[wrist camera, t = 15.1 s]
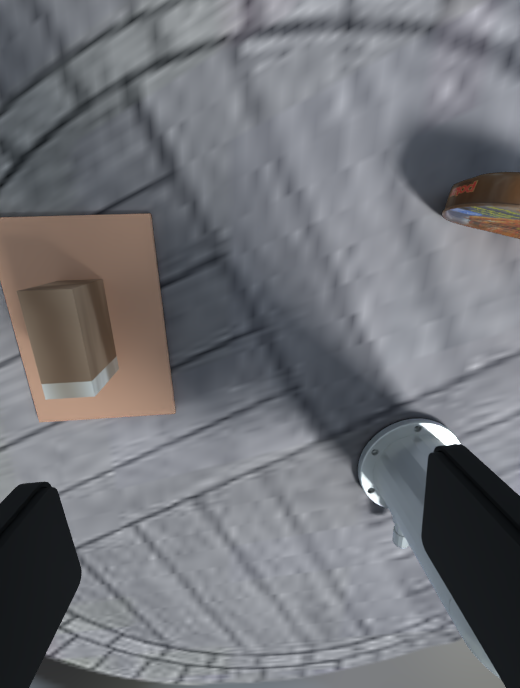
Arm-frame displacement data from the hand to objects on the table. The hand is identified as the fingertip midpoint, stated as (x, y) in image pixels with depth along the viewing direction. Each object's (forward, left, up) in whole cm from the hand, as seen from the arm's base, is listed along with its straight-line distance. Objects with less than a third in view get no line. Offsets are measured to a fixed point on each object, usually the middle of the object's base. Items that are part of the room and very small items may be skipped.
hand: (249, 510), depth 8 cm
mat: (-1, +14, -26) cm, 29 cm away
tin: (+8, -26, -26) cm, 37 cm away
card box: (-1, +14, -25) cm, 29 cm away
